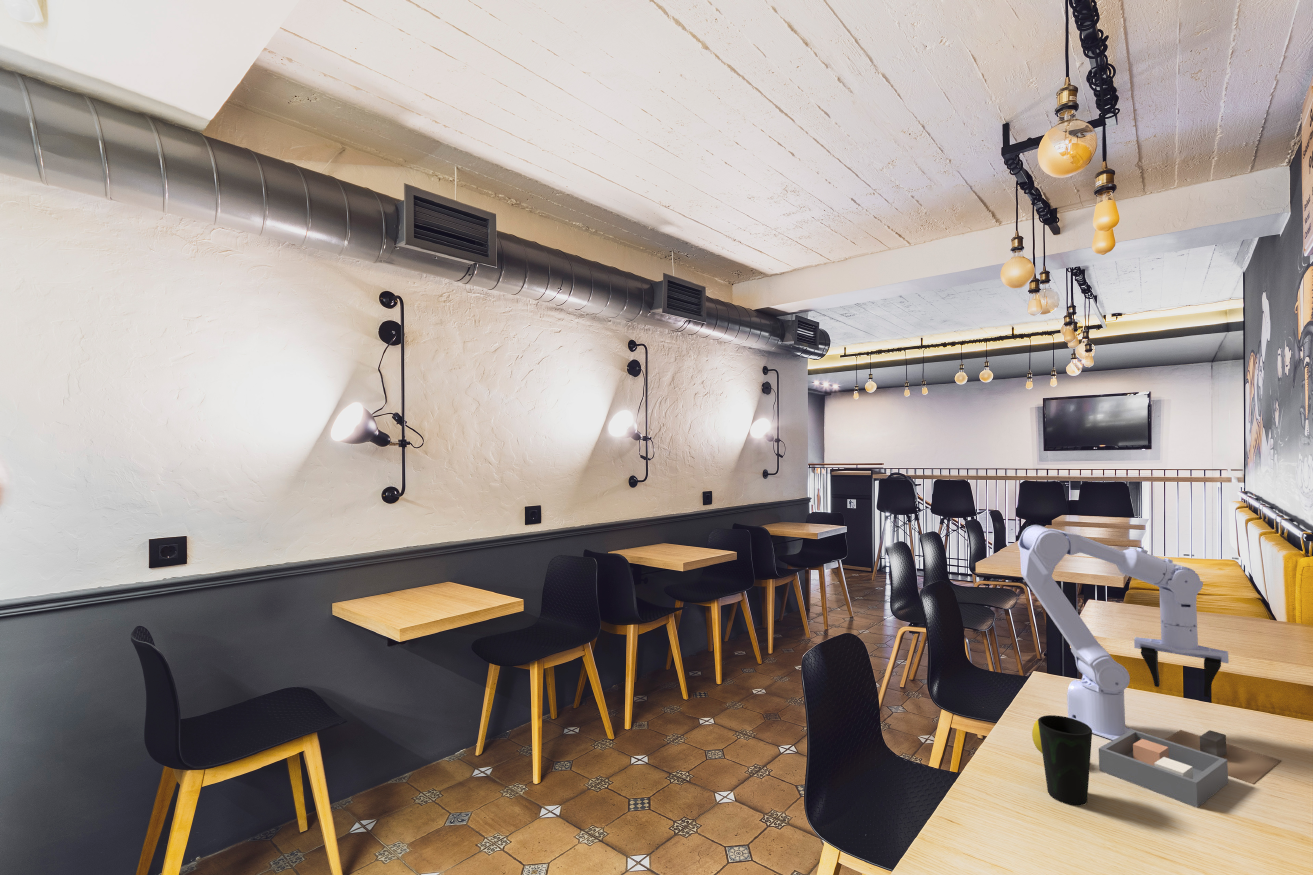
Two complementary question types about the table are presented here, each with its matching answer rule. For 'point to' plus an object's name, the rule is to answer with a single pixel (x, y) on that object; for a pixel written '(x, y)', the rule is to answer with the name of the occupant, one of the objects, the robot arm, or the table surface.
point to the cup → (1066, 758)
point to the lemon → (1036, 736)
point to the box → (1206, 770)
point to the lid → (1228, 754)
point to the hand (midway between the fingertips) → (1181, 690)
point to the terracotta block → (1149, 751)
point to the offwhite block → (1175, 767)
